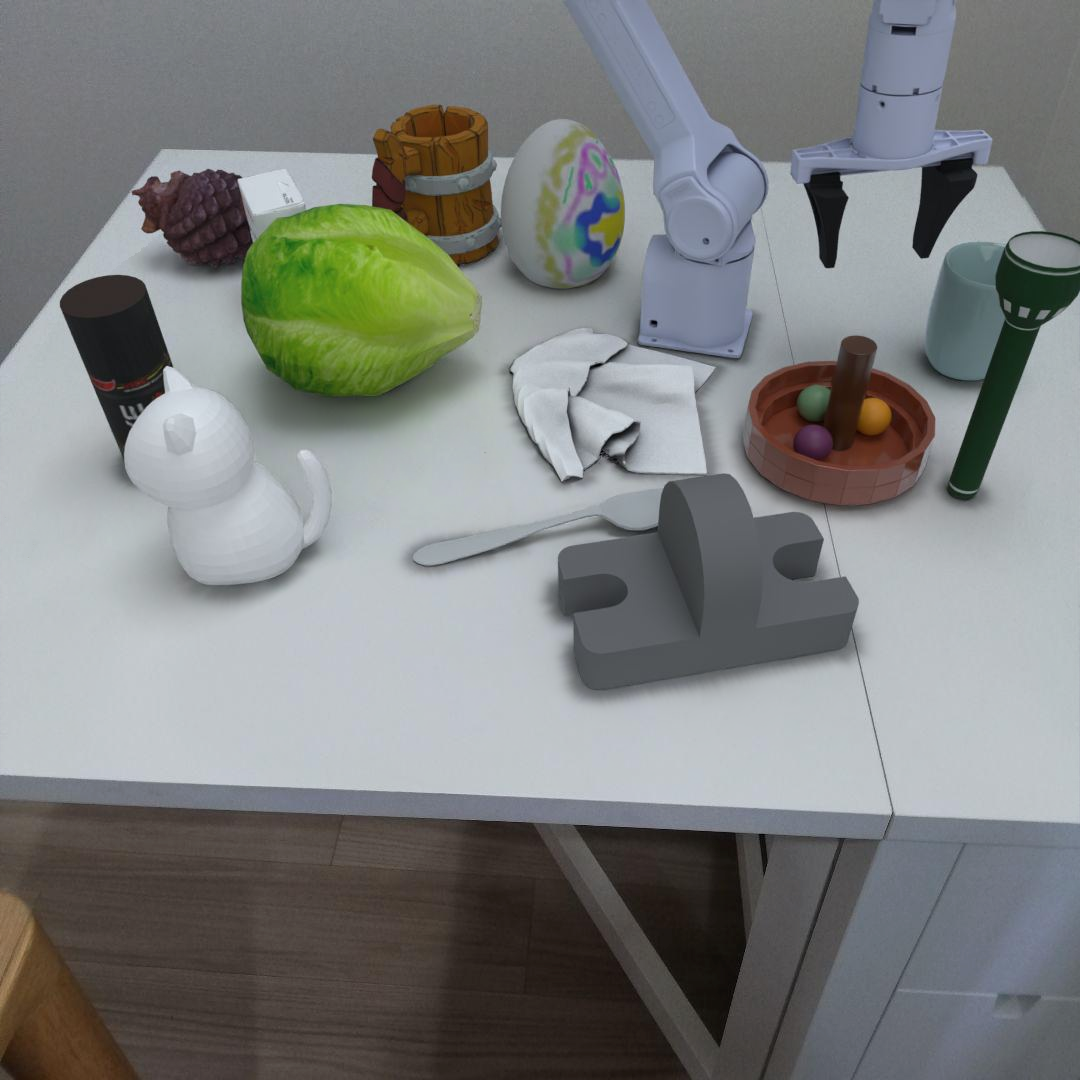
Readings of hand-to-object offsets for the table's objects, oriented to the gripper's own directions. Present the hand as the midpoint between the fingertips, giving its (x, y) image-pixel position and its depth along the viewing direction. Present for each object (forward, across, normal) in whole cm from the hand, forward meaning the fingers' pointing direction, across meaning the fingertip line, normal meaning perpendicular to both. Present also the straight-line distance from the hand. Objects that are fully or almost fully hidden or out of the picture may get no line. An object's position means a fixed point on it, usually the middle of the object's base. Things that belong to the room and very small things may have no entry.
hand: (873, 257), depth 80 cm
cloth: (+10, +22, +4) cm, 25 cm away
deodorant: (+8, +59, +7) cm, 60 cm away
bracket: (+10, +19, +28) cm, 35 cm away
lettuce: (+8, +43, -2) cm, 44 cm away
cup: (+11, -9, +1) cm, 14 cm away
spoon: (+10, +28, +19) cm, 36 cm away
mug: (+8, +38, -25) cm, 46 cm away
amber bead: (+9, +2, +10) cm, 13 cm away
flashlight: (+11, -3, +17) cm, 21 cm away
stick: (+10, +5, +11) cm, 15 cm away
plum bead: (+8, +8, +13) cm, 17 cm away
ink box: (+7, +52, -16) cm, 55 cm away
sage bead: (+8, +6, +8) cm, 13 cm away
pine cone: (+7, +59, -27) cm, 65 cm away
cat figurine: (+8, +50, +19) cm, 54 cm away
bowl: (+10, +5, +12) cm, 16 cm away
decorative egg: (+9, +24, -20) cm, 33 cm away
